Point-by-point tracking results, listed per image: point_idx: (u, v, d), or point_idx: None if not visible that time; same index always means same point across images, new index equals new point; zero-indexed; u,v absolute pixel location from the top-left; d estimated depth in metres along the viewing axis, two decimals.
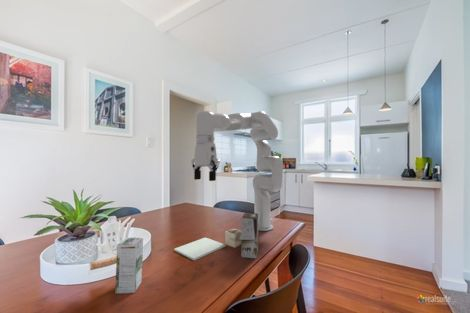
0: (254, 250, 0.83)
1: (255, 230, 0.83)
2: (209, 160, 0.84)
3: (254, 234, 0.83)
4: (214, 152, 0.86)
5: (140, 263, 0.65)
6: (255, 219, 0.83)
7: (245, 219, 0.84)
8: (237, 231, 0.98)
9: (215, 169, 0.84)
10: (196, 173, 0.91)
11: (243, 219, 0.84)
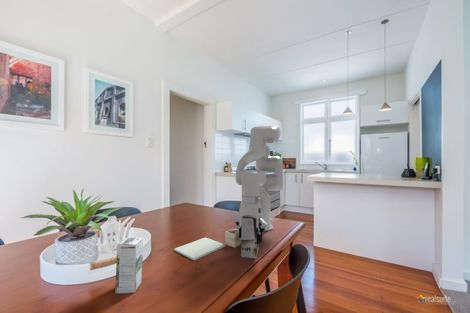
0: (254, 250, 0.83)
1: (255, 230, 0.83)
2: (257, 223, 0.84)
3: (254, 234, 0.83)
4: (261, 213, 0.86)
5: (140, 263, 0.65)
6: (255, 219, 0.83)
7: (245, 219, 0.84)
8: (237, 231, 0.98)
9: (263, 232, 0.84)
10: (241, 232, 0.90)
11: (243, 219, 0.84)
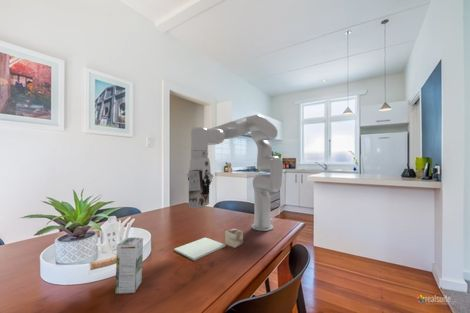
0: (200, 200, 0.87)
1: (201, 181, 0.88)
2: (203, 174, 0.88)
3: (200, 185, 0.88)
4: (208, 166, 0.90)
5: (140, 263, 0.65)
6: (201, 171, 0.88)
7: (192, 171, 0.89)
8: (237, 231, 0.98)
9: (208, 183, 0.88)
10: None
11: (190, 171, 0.89)
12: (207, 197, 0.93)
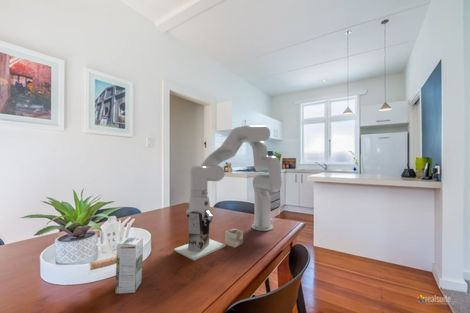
0: (199, 244, 0.87)
1: (200, 225, 0.87)
2: (203, 215, 0.88)
3: (199, 229, 0.87)
4: (207, 206, 0.90)
5: (140, 263, 0.65)
6: (200, 214, 0.87)
7: (192, 214, 0.88)
8: (237, 231, 0.98)
9: (208, 223, 0.88)
10: None
11: (190, 214, 0.89)
12: (207, 238, 0.93)
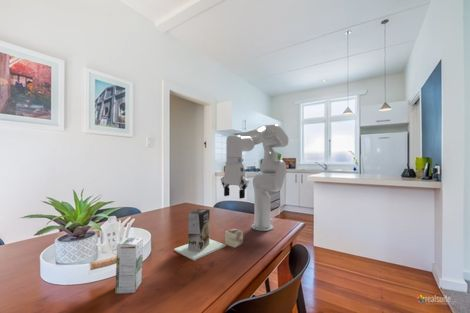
0: (199, 244, 0.87)
1: (200, 225, 0.87)
2: (239, 180, 0.94)
3: (199, 228, 0.87)
4: (243, 172, 0.96)
5: (140, 263, 0.65)
6: (200, 214, 0.88)
7: (191, 214, 0.89)
8: (237, 231, 0.98)
9: (245, 188, 0.94)
10: (226, 190, 1.01)
11: (190, 214, 0.89)
12: (207, 238, 0.93)
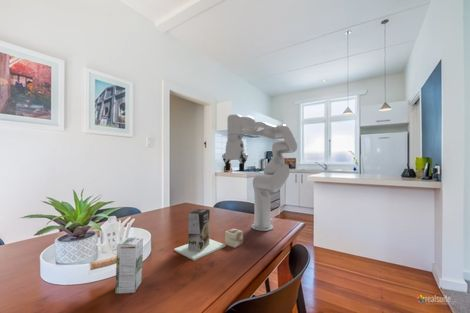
0: (199, 244, 0.87)
1: (200, 225, 0.87)
2: (239, 154, 1.04)
3: (199, 228, 0.87)
4: (243, 148, 1.06)
5: (140, 263, 0.65)
6: (200, 214, 0.88)
7: (191, 214, 0.89)
8: (237, 231, 0.98)
9: (244, 162, 1.04)
10: (227, 165, 1.10)
11: (190, 214, 0.89)
12: (207, 238, 0.93)
